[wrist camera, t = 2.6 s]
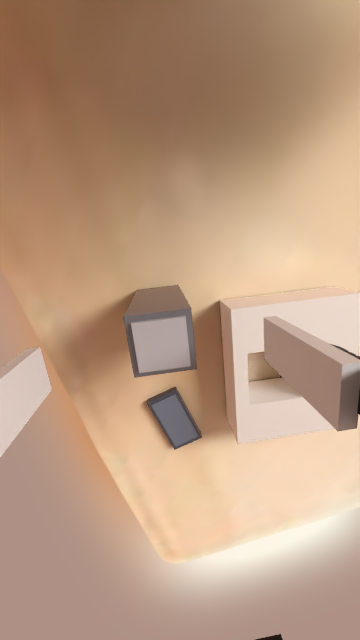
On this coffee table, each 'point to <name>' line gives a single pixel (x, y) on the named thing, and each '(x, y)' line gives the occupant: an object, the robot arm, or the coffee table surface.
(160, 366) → the block
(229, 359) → the outlet plate
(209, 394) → the coffee table surface
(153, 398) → the phone
